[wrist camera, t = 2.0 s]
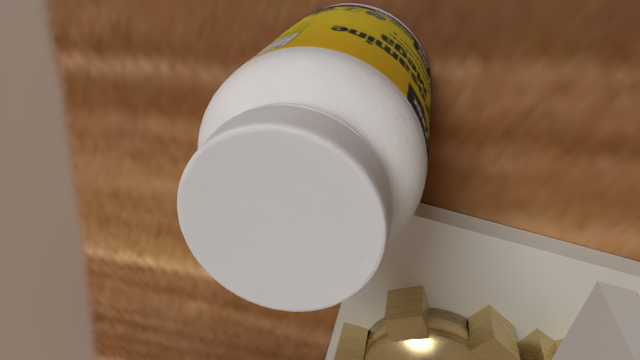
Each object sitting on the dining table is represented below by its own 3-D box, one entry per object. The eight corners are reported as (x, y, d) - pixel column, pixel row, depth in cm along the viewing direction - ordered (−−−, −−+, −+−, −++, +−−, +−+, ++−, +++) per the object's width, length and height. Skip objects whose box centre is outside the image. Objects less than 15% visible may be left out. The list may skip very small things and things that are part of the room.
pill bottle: (463, 97, 20) (489, 271, 10) (339, 177, 23) (268, 374, 13) (367, -39, 19) (293, 19, 9) (246, 64, 21) (88, 193, 12)
